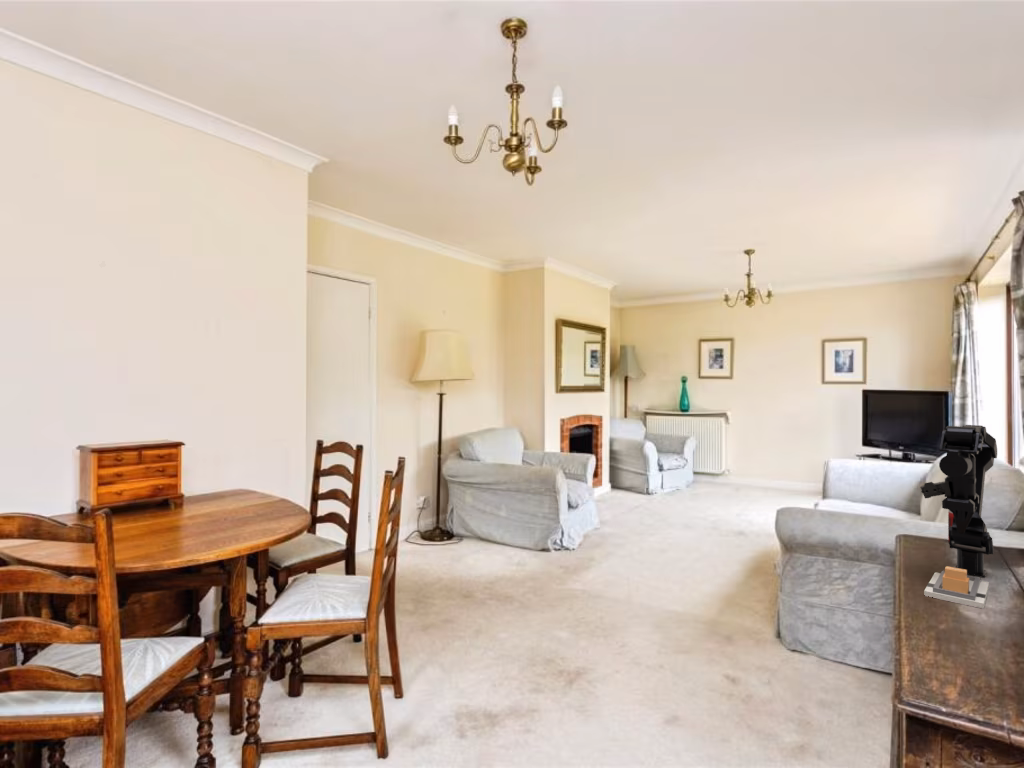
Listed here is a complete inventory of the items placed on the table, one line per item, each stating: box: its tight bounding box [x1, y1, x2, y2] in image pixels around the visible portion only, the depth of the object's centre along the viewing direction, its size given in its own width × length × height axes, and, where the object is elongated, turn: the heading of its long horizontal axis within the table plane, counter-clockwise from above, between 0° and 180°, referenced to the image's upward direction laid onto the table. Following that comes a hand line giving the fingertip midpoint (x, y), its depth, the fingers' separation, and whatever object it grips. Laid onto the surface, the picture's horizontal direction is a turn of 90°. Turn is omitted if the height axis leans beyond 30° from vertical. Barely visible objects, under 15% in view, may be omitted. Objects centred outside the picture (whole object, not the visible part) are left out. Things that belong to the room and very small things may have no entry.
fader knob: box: [943, 565, 969, 594], centre depth 133 cm, size 4×5×5 cm
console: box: [923, 570, 990, 609], centre depth 136 cm, size 20×11×2 cm, turn 136°
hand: (961, 533), depth 143 cm, fingers closed
